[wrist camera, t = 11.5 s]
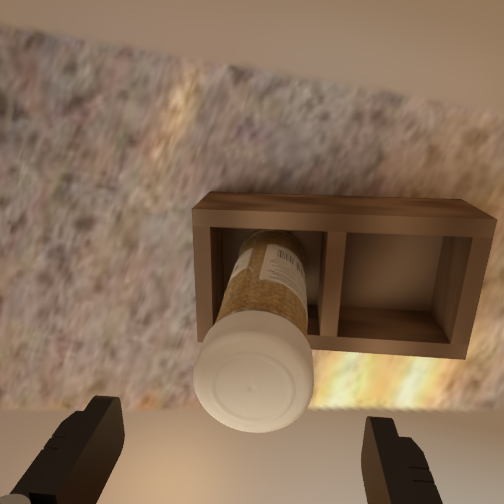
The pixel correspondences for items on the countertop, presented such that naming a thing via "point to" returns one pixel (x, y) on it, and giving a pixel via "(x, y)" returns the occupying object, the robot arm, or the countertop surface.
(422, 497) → the robot arm
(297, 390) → the sprinkles bottle
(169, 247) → the countertop surface
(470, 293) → the spice caddy
